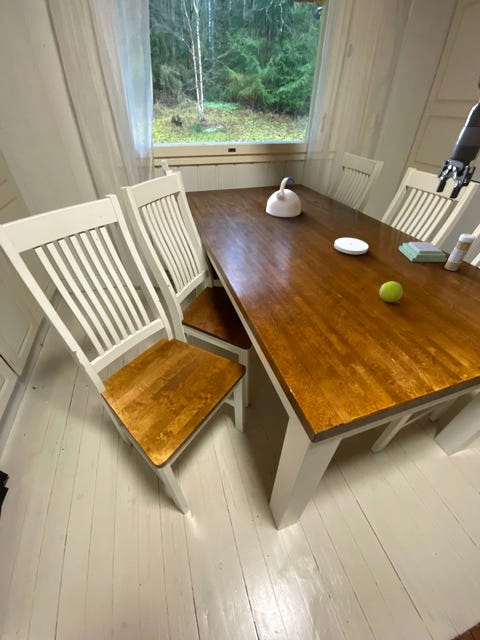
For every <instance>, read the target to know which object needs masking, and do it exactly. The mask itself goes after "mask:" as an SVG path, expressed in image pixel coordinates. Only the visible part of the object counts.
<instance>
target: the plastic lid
mask: <svg viewBox="0 0 480 640" xmlns="http://www.w3.org/2000/svg"><path fill="white" fill-rule="evenodd" d="M333 247H334V248H335V249H336V250H337V251H339V252H341V253H345V254H349V255H363V254H366V253H367V252H368V249H369V245H368V243H366V242H365V241H364V240H361V239H358V238H353V237H339V238H337V239H335V240H334V244H333Z"/></svg>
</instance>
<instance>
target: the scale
mask: <svg viewBox="0 0 480 640" xmlns="http://www.w3.org/2000/svg"><path fill="white" fill-rule="evenodd" d="M408 244H409V242H403V243H402V245H399V246H398V250H399V251H400V252H401V254H403V255H404V256H405V257H406V258H407V259H408V260H409V261H410V262H411V263H417V262H418V263H447V261H448V258H447V254H445V253H444V252H443V251H442V252H441V254H418V253H417V252H416V251H415V250H414V249H413V248H411V247H410V246H409V245H408Z"/></svg>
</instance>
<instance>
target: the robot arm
mask: <svg viewBox="0 0 480 640" xmlns="http://www.w3.org/2000/svg"><path fill="white" fill-rule="evenodd" d="M477 87H478V89H479V90H480V76H479V77H478V79H477ZM479 153H480V99H479V100H478V101H477V102H476V103H475V104H473V105H472V106H471V108H470V110H469V111H468V113H467V116H466V118H465V120H464V123H463V126H462V128H461V129H460V131H459V133H458V135H457V137H456V140H455V142H454V145H453V147H452V149H451V151H450V153H449V157H448V158H449V159H445V160H444V161H443V162H442V165H441V167H440V170H439V172H438V174H437V177H436V178H437V179H438V180H439V182H438V185H437V187H436V190H435V192H436V193H441V194H442V193H443V192H444V190H445V187H446V185H447V183H448V181H449V179H451V178H452V179H453V182H454V186H453V188H452V190H451V193H450V195H449V197H448V198H449V199H451V200H455V199H457V198H458V197H459V195H460V192H461V190H462V188H465V187H469V185H470V183H471V181H472V179H473V176H474V173H475V171H476V169H477V167H476V166H471V162H473V161H475V160H476V159H477V156H478V155H479Z"/></svg>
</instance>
